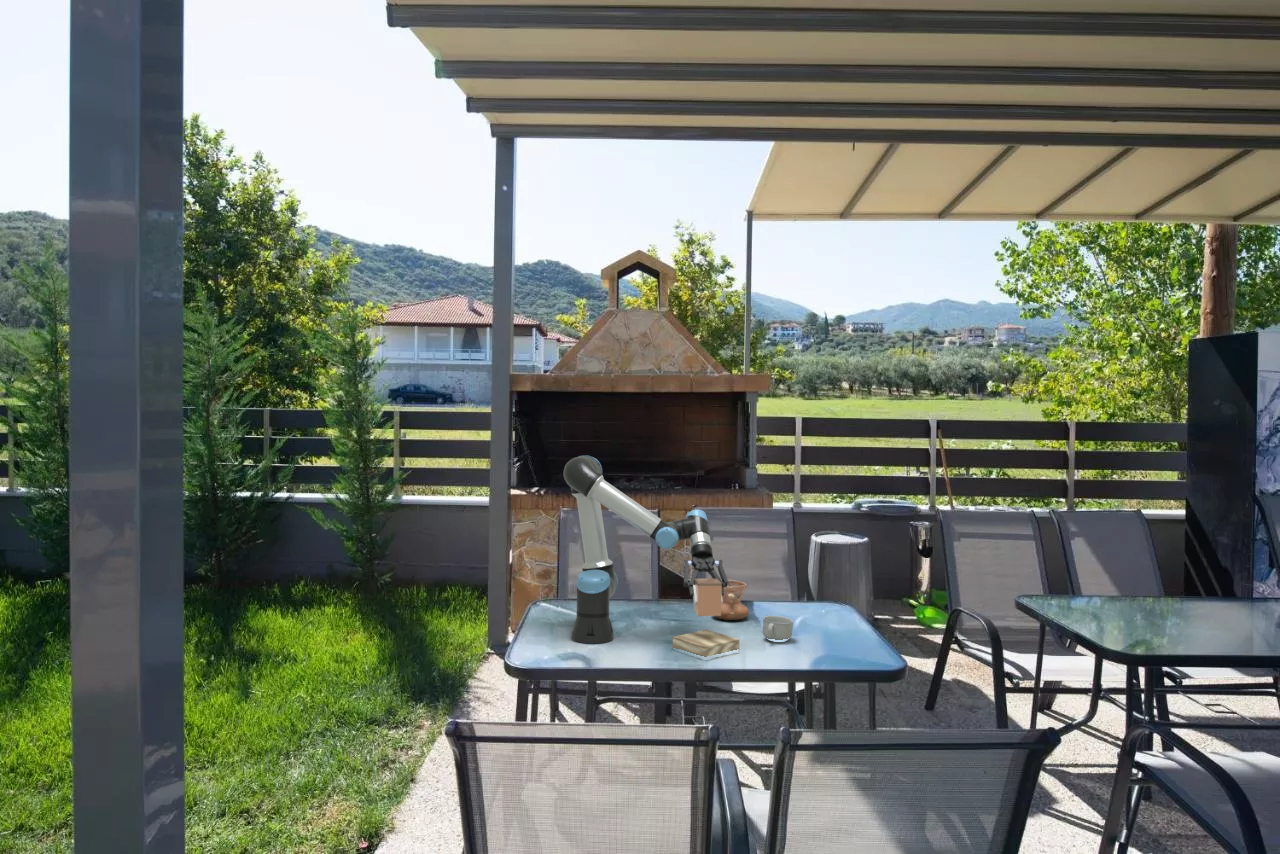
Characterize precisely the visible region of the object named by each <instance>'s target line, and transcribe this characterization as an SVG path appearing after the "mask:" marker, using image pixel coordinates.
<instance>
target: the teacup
mask: <svg viewBox="0 0 1280 854" xmlns="http://www.w3.org/2000/svg"><path fill="white" fill-rule="evenodd" d="M762 621H763V622H762V633H763V634H762V635H763V637H764V638H765V639H767V638H768V639H775V640H783V639H788V638H790V639H791V638H792V636H793V629H794V620H793V619H791V618H789V617H786V616H782V615H781V616H780V615H766V616H763V618H762Z"/></svg>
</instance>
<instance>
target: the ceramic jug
mask: <svg viewBox="0 0 1280 854" xmlns="http://www.w3.org/2000/svg"><path fill="white" fill-rule="evenodd" d="M727 580H728V585H727V587H724V596H722V599H723V602H722V606H721V616H714V617H715V618H717V619H719V620H722V619H724V620H723V621H728V620H735V621H740V620H742V619H745V618H746V617H747V616H749V609H748V607H747V606H746V605H745V604H743V603H742V602H741V601H742V600H743V597H744V594H745V591H746V588H747V583H746V582H743V581H740V580H735V579H727ZM739 619H740V620H739Z"/></svg>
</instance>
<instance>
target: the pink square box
mask: <svg viewBox="0 0 1280 854" xmlns="http://www.w3.org/2000/svg"><path fill="white" fill-rule="evenodd" d="M693 585H695V586H696V594H697V605H696V606H694V605H693V612H694V613H695V615H696V616H698V617H715V616H721V596H722V583H721V582H720V581H719V580H718V579H713V578H696V579H695V581H694V584H693Z"/></svg>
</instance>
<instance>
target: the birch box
mask: <svg viewBox="0 0 1280 854" xmlns="http://www.w3.org/2000/svg"><path fill="white" fill-rule="evenodd" d="M673 648H676V649H681V650H684V651H687V652H690V653H693V654H696V655H700V656H704V657H707V656H712V655H716V654H721V653H725V652H729V651H733V650H737V649H739V650H740V638H736V637H733V636H728V635H726V634H723V633H720V632H719V633H718V632H716V631H712V630H709V629H704V630H698V631H693V632H689V633H685V634H680V635H679V634H678V635H675V636H672V649H673Z"/></svg>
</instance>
